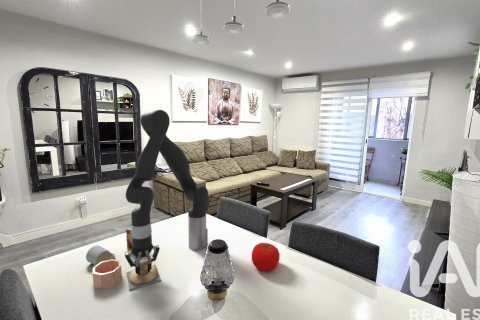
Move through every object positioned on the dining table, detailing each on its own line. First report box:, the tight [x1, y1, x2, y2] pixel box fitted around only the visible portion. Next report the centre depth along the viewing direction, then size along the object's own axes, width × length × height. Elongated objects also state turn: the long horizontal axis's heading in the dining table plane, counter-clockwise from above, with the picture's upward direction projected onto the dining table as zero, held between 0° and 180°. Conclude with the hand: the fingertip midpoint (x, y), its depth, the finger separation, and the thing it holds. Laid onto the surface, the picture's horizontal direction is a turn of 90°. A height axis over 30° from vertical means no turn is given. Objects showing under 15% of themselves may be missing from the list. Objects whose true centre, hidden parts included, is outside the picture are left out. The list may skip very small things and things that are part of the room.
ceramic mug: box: [85, 244, 116, 266], centre depth 110 cm, size 11×8×8 cm
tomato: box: [251, 242, 281, 272], centre depth 109 cm, size 14×13×10 cm
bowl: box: [92, 258, 123, 290], centre depth 97 cm, size 10×10×6 cm
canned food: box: [125, 223, 132, 253], centre depth 121 cm, size 8×8×12 cm
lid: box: [129, 258, 159, 284], centre depth 99 cm, size 11×11×6 cm
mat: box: [126, 264, 162, 291], centre depth 100 cm, size 12×12×1 cm
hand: (143, 271), depth 100 cm, fingers closed on lid, 3 cm apart
